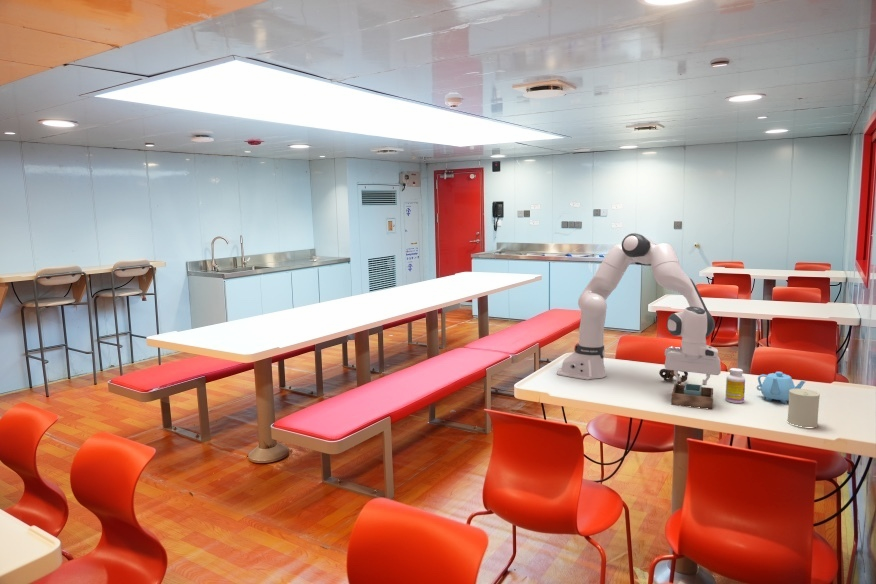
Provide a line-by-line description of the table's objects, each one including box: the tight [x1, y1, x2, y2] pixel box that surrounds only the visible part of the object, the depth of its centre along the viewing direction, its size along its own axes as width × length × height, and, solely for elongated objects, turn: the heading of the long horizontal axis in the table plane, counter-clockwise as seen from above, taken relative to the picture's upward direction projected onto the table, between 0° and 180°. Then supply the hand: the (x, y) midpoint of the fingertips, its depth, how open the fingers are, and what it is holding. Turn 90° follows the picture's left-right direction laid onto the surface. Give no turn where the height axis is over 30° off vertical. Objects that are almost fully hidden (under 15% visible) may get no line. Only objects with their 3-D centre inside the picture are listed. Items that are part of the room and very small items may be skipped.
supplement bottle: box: [725, 367, 746, 404], centre depth 228 cm, size 7×7×13 cm
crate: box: [670, 383, 714, 410], centre depth 228 cm, size 14×14×4 cm
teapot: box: [756, 371, 806, 404], centre depth 229 cm, size 15×14×11 cm
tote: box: [684, 382, 703, 396], centre depth 228 cm, size 10×6×5 cm, turn 154°
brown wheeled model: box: [659, 368, 689, 385], centre depth 256 cm, size 12×10×8 cm
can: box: [786, 388, 821, 428], centre depth 202 cm, size 9×9×12 cm
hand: (691, 383), depth 227 cm, fingers open, 8 cm apart
